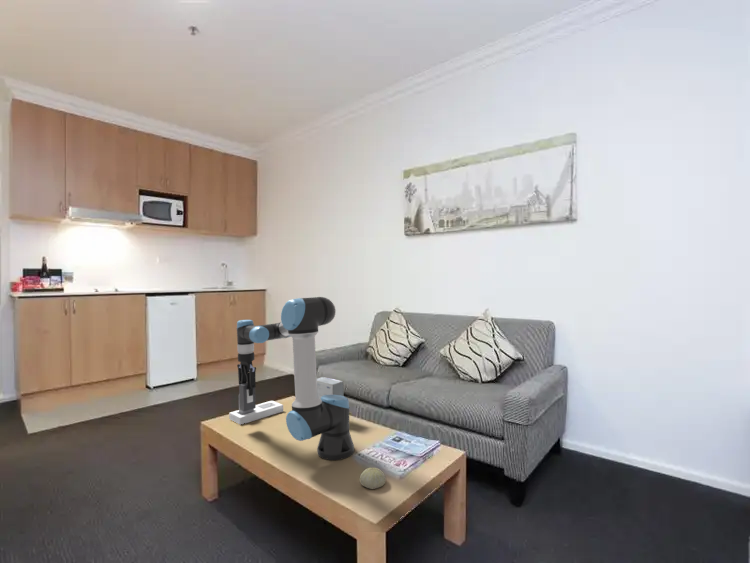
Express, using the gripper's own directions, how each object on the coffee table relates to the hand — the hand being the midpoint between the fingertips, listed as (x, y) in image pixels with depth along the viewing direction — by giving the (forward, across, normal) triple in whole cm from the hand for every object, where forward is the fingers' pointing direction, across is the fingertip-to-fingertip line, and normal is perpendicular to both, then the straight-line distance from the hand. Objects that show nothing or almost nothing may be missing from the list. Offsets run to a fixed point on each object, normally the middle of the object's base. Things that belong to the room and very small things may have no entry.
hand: (247, 401), depth 188 cm
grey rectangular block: (+4, 0, 0) cm, 4 cm away
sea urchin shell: (+15, -77, -5) cm, 79 cm away
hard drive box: (+14, -19, -34) cm, 41 cm away
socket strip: (+13, +14, -13) cm, 23 cm away
